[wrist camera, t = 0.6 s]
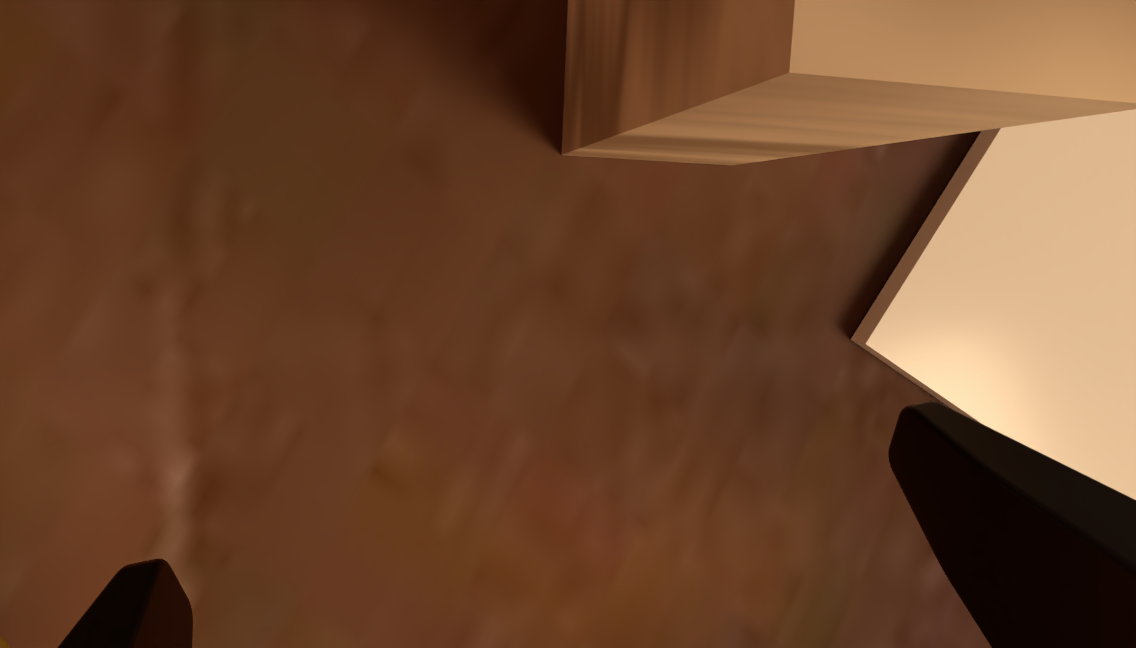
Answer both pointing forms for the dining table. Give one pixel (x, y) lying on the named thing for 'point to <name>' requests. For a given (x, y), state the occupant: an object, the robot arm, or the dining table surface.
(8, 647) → the lemon
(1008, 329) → the tile
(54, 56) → the dining table surface
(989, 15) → the wood block
